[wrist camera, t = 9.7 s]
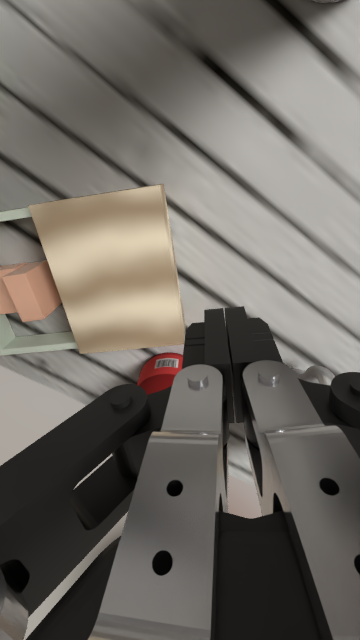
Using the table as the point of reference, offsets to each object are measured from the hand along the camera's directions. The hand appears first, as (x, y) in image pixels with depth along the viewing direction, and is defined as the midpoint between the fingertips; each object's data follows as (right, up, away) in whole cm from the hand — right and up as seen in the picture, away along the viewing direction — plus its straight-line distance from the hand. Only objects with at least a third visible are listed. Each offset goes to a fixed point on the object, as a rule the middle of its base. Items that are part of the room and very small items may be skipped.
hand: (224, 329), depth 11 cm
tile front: (-16, +4, +20) cm, 26 cm away
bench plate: (-8, +6, +21) cm, 23 cm away
